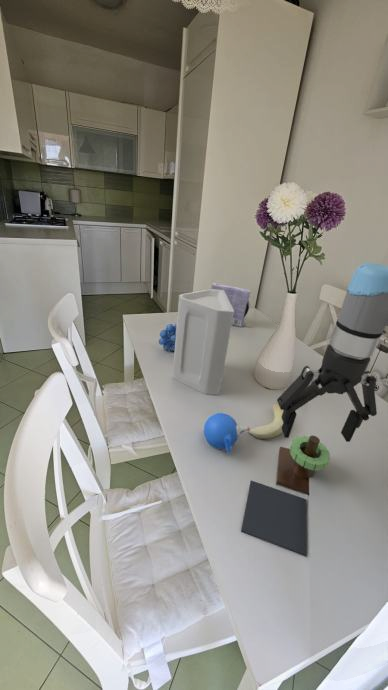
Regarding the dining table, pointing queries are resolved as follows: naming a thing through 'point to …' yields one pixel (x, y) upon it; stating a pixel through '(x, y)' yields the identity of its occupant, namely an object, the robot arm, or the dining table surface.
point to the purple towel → (236, 301)
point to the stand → (296, 468)
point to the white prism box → (202, 339)
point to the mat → (276, 517)
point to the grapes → (168, 337)
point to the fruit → (270, 426)
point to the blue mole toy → (222, 431)
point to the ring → (304, 459)
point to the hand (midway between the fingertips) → (315, 435)
